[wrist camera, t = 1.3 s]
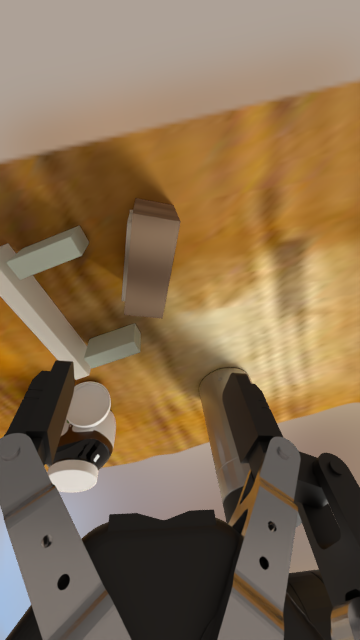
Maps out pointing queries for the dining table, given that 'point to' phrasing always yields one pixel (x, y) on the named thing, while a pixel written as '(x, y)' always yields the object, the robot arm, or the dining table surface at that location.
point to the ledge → (43, 315)
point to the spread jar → (84, 439)
